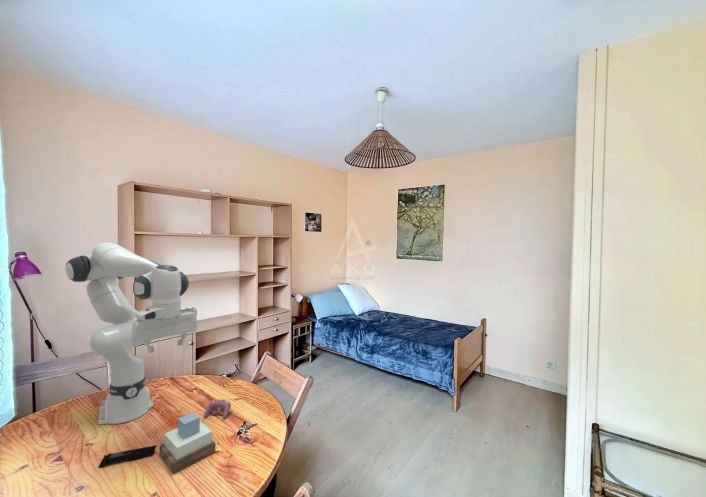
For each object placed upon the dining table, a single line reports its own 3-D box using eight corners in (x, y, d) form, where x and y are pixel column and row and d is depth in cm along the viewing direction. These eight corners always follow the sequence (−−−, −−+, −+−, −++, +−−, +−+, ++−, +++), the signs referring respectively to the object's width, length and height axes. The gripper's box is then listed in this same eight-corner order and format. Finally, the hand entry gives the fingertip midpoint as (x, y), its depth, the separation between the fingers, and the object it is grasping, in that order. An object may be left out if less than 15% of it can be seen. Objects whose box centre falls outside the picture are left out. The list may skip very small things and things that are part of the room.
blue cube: (177, 433, 99) (178, 418, 99) (193, 426, 103) (193, 412, 103) (183, 439, 96) (184, 424, 96) (199, 432, 100) (199, 417, 100)
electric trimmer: (155, 458, 98) (155, 448, 98) (97, 469, 92) (97, 459, 92) (157, 450, 101) (158, 441, 101) (102, 461, 96) (102, 452, 96)
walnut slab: (159, 457, 99) (159, 445, 99) (199, 438, 109) (199, 427, 109) (173, 476, 90) (173, 463, 90) (215, 454, 100) (215, 442, 100)
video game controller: (229, 418, 123) (233, 400, 126) (224, 419, 119) (228, 400, 122) (207, 417, 123) (211, 398, 127) (201, 418, 119) (206, 399, 123)
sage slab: (164, 445, 99) (164, 433, 99) (198, 429, 107) (198, 419, 107) (176, 460, 92) (177, 448, 92) (211, 442, 100) (212, 431, 100)
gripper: (193, 305, 115) (193, 340, 115) (130, 313, 99) (129, 354, 99) (200, 307, 111) (200, 343, 111) (135, 316, 95) (134, 358, 95)
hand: (166, 348), depth 105 cm, fingers open, 8 cm apart
